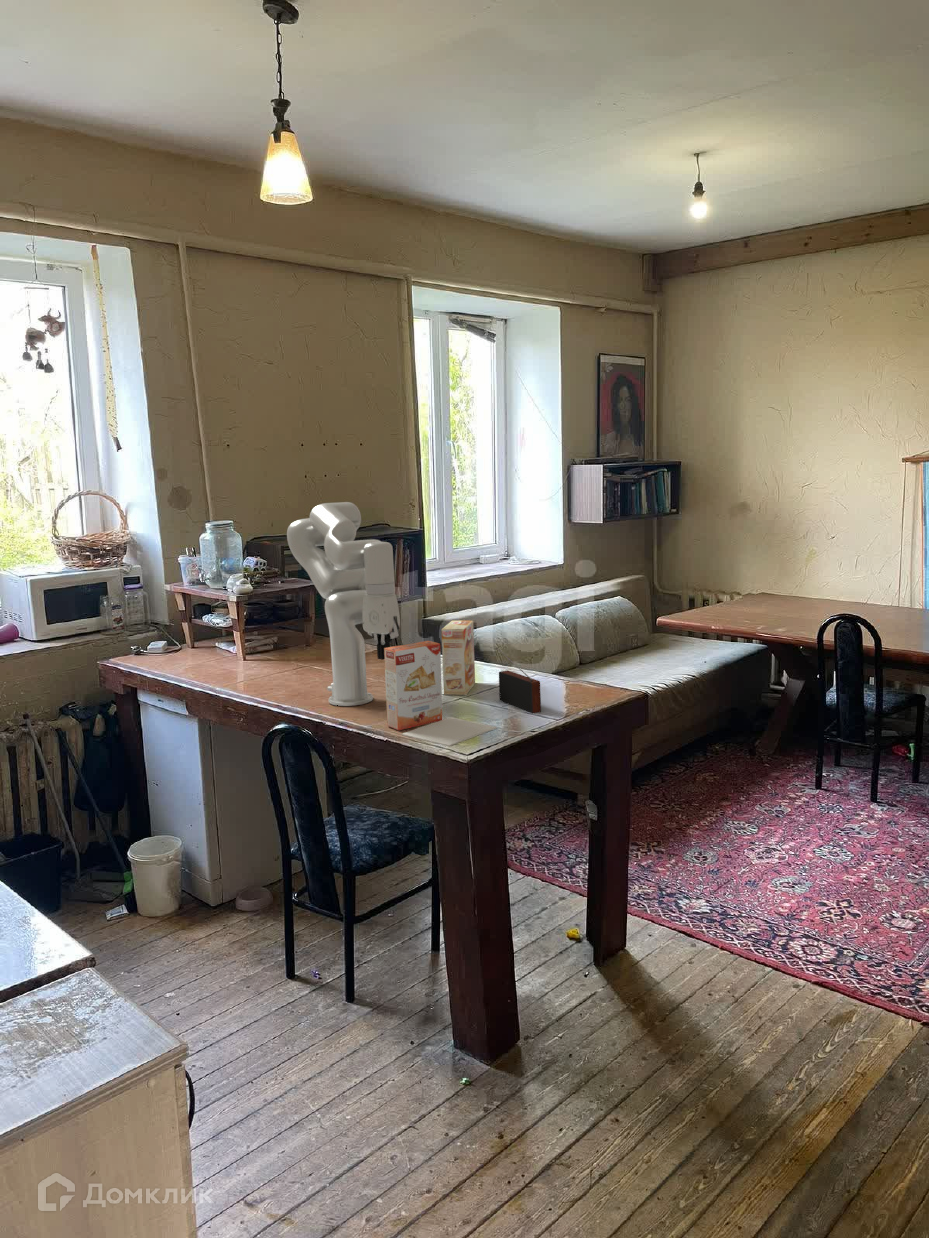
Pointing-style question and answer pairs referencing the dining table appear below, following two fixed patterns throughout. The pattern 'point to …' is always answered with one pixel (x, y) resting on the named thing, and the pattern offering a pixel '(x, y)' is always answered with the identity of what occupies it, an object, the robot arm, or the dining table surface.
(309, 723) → the dining table surface
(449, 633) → the coffeecake box
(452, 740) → the mat
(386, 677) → the cracker box
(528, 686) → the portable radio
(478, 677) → the dining table surface
